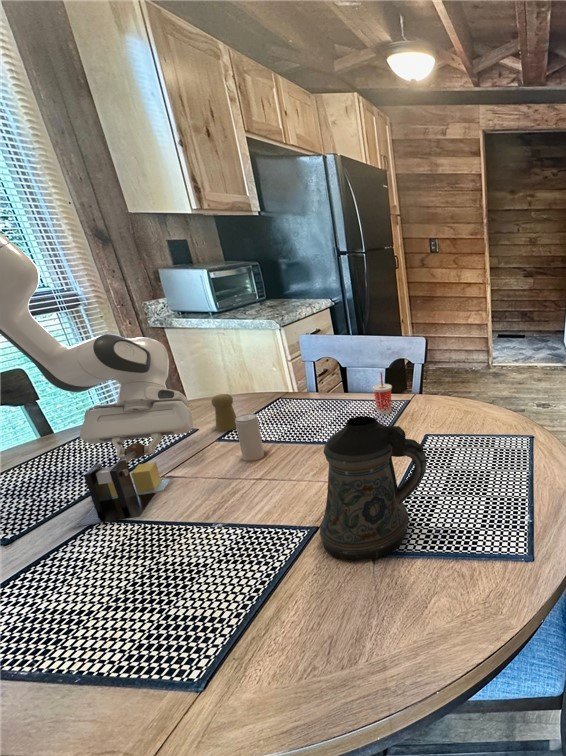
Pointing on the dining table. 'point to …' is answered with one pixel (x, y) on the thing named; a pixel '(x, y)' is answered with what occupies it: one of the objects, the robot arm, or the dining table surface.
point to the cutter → (105, 504)
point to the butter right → (146, 477)
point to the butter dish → (159, 488)
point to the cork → (224, 412)
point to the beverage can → (249, 437)
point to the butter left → (112, 489)
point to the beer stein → (367, 489)
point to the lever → (131, 453)
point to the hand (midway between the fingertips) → (136, 455)
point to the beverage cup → (382, 397)
